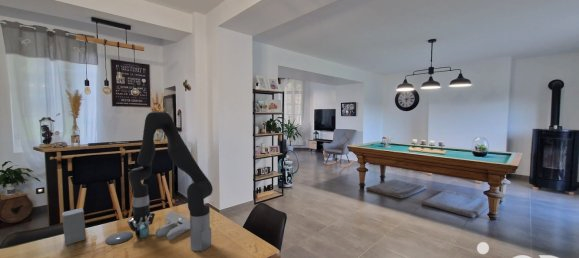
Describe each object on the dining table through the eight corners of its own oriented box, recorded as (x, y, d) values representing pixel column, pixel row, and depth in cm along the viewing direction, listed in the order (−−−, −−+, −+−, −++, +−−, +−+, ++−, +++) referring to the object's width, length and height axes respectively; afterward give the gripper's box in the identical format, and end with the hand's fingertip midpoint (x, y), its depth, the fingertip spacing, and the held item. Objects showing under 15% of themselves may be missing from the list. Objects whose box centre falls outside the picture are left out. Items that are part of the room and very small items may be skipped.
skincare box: (85, 235, 131) (83, 206, 129) (86, 240, 125) (84, 210, 124) (63, 241, 125) (62, 211, 124) (64, 246, 120) (62, 215, 118)
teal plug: (150, 236, 130) (150, 227, 130) (143, 239, 127) (143, 230, 127) (140, 231, 135) (139, 223, 135) (133, 234, 132) (133, 226, 132)
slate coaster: (137, 236, 130) (137, 235, 130) (112, 246, 120) (112, 245, 119) (125, 230, 136) (125, 229, 136) (100, 240, 126) (100, 239, 126)
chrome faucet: (176, 209, 149) (193, 218, 136) (177, 220, 150) (194, 230, 137) (145, 221, 135) (162, 232, 123) (146, 233, 136) (163, 245, 124)
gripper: (130, 209, 122) (132, 242, 123) (158, 201, 134) (158, 231, 135) (123, 206, 126) (124, 238, 127) (150, 198, 138) (151, 227, 139)
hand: (142, 234), depth 131 cm, fingers closed on teal plug, 3 cm apart
